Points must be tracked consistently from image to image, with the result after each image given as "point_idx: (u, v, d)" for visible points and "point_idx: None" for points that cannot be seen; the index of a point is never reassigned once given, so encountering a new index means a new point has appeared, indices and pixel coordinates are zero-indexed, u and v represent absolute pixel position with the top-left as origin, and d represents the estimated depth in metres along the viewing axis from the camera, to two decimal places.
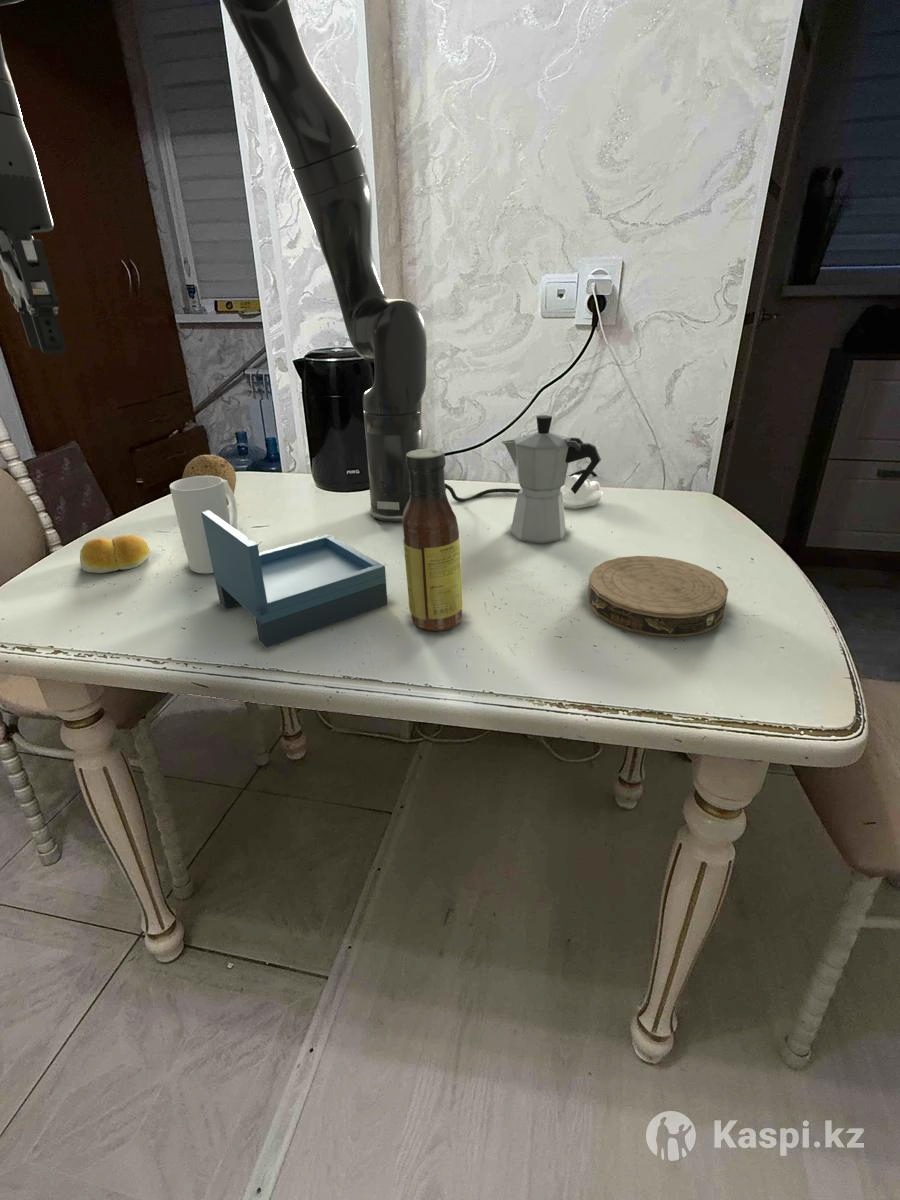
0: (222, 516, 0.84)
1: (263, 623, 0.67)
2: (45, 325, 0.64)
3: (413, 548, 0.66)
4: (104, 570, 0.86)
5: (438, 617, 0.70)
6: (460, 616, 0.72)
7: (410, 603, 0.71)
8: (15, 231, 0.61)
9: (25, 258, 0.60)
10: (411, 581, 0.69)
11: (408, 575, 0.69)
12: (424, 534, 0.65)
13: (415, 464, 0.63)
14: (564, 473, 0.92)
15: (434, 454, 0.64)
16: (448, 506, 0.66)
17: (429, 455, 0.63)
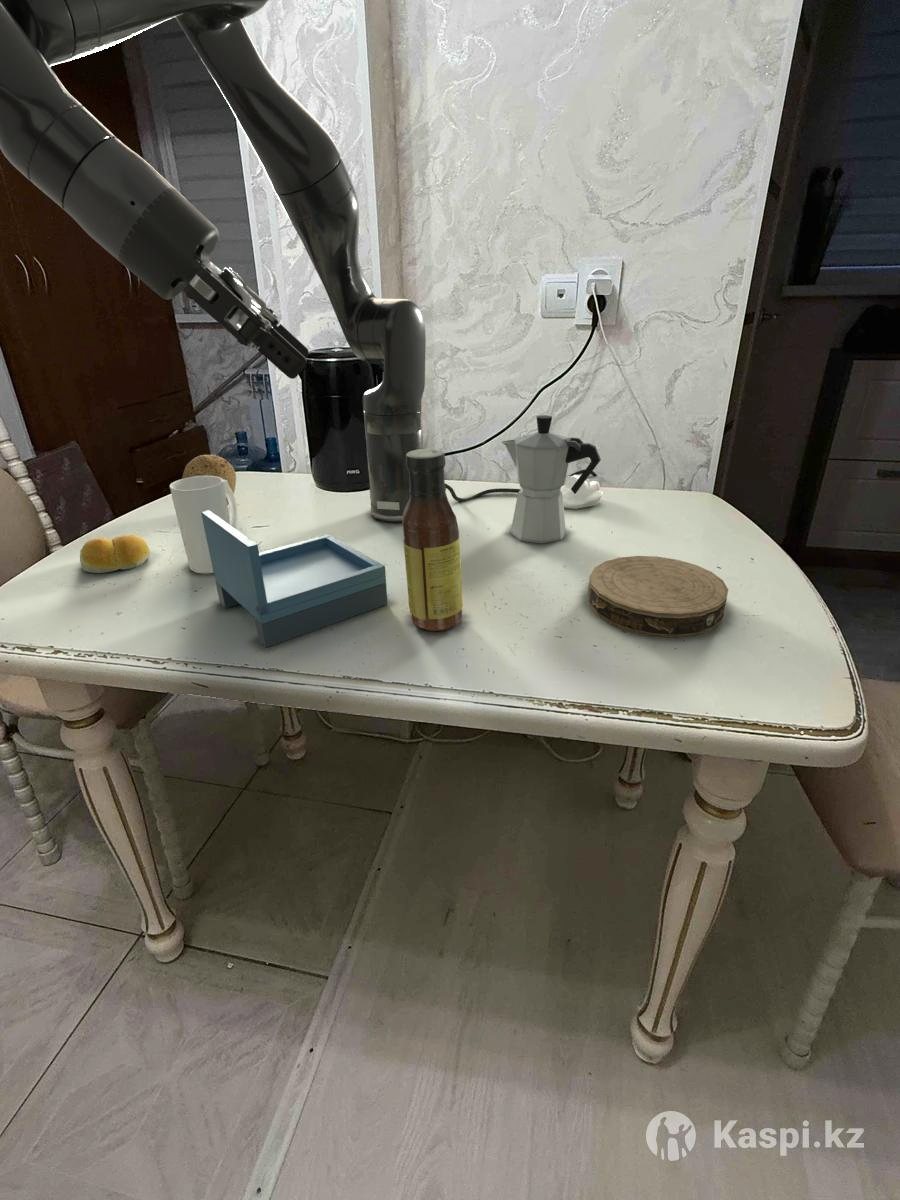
0: (222, 516, 0.84)
1: (263, 623, 0.67)
2: (271, 350, 0.53)
3: (413, 547, 0.66)
4: (104, 570, 0.86)
5: (438, 617, 0.70)
6: (460, 616, 0.72)
7: (410, 603, 0.71)
8: (187, 273, 0.50)
9: (205, 299, 0.49)
10: (411, 581, 0.69)
11: (408, 575, 0.69)
12: (424, 534, 0.65)
13: (415, 464, 0.63)
14: (564, 473, 0.92)
15: (434, 454, 0.64)
16: (448, 506, 0.66)
17: (429, 455, 0.63)
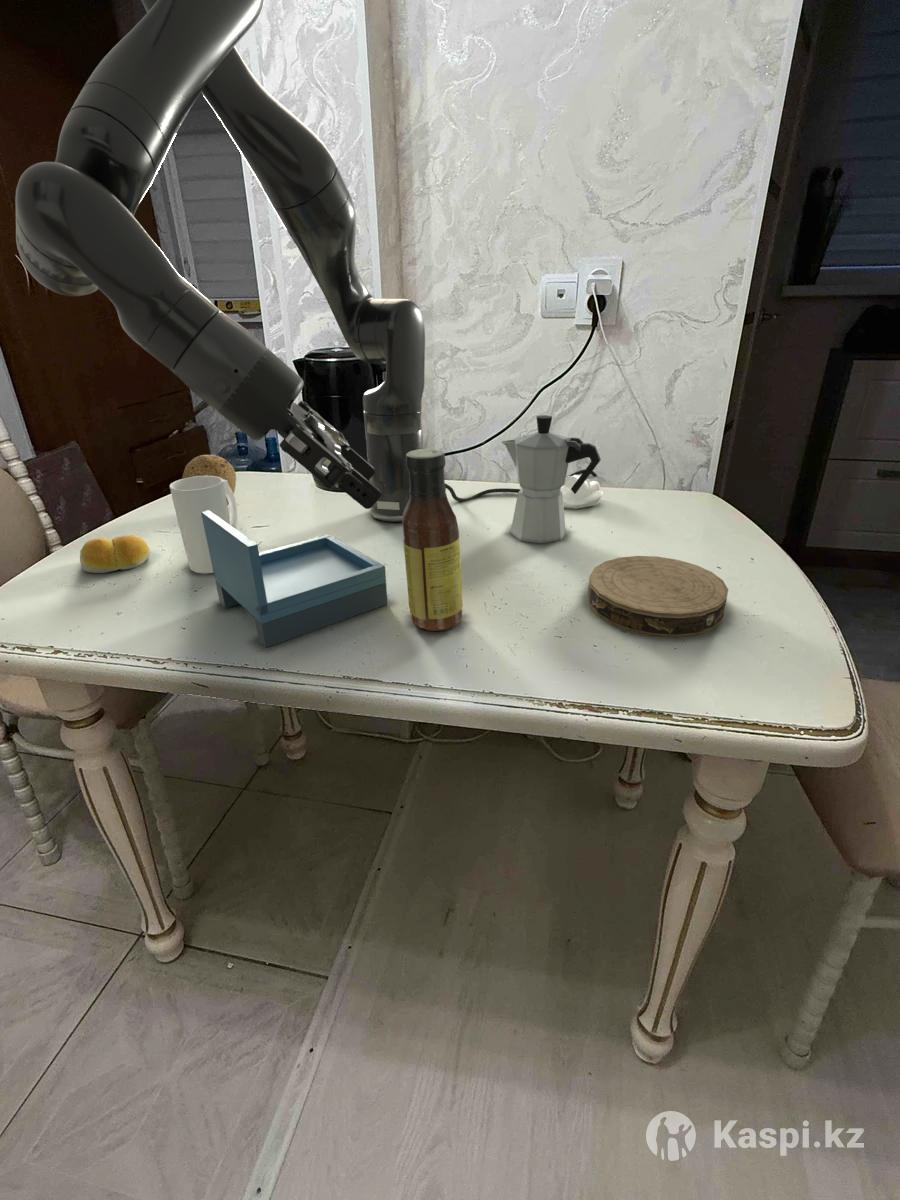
0: (222, 516, 0.84)
1: (263, 623, 0.67)
2: (351, 488, 0.59)
3: (413, 547, 0.66)
4: (104, 570, 0.86)
5: (438, 617, 0.70)
6: (460, 616, 0.72)
7: (410, 603, 0.71)
8: (279, 425, 0.57)
9: (298, 453, 0.55)
10: (411, 581, 0.69)
11: (408, 575, 0.69)
12: (424, 534, 0.65)
13: (415, 464, 0.63)
14: (564, 473, 0.92)
15: (434, 454, 0.64)
16: (448, 506, 0.66)
17: (429, 455, 0.63)
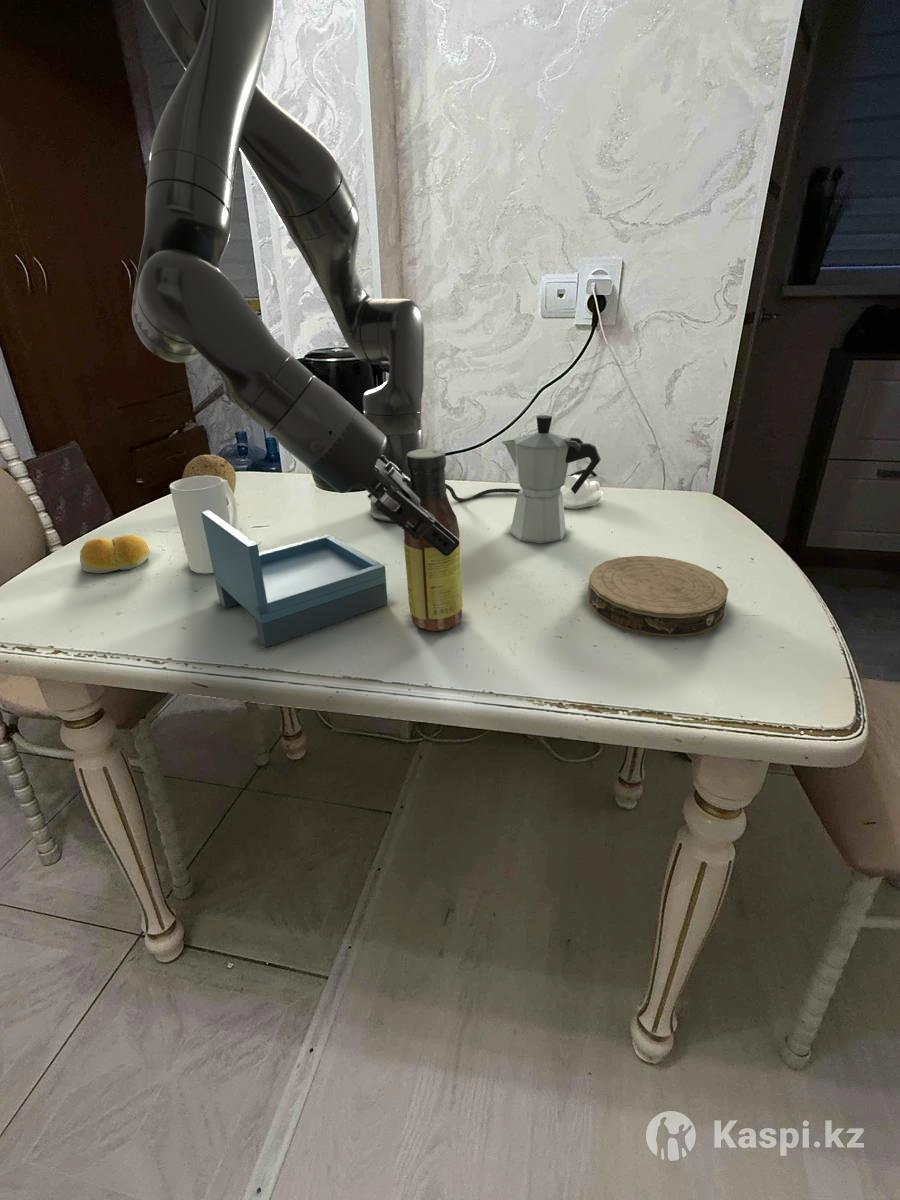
0: (222, 516, 0.84)
1: (263, 623, 0.67)
2: (434, 538, 0.64)
3: (414, 548, 0.66)
4: (104, 570, 0.86)
5: (438, 617, 0.70)
6: (460, 616, 0.72)
7: (410, 603, 0.71)
8: (367, 481, 0.61)
9: (392, 512, 0.59)
10: (411, 581, 0.69)
11: (408, 575, 0.69)
12: None
13: (416, 464, 0.63)
14: (564, 473, 0.92)
15: (435, 454, 0.64)
16: (448, 506, 0.66)
17: (430, 455, 0.63)
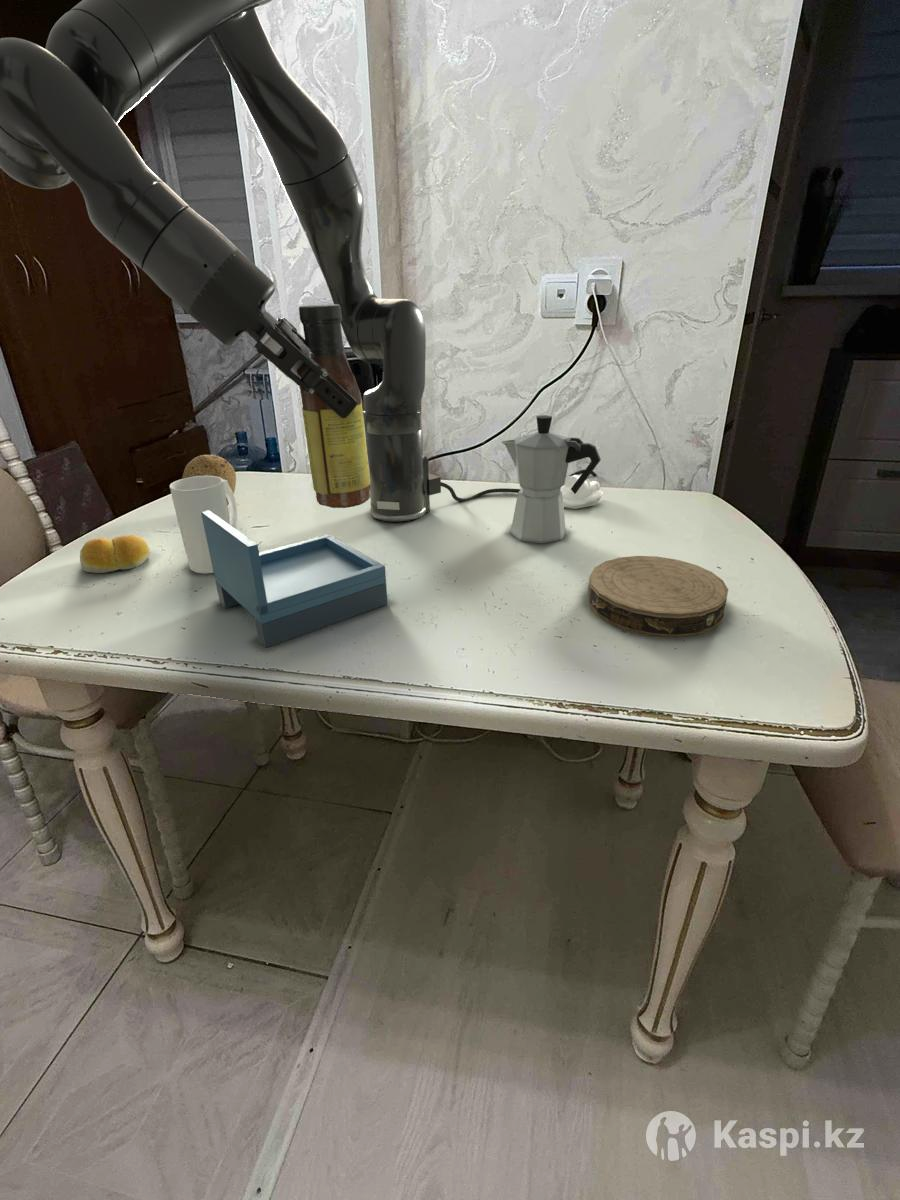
0: (222, 516, 0.84)
1: (263, 623, 0.67)
2: (327, 395, 0.60)
3: (310, 411, 0.63)
4: (104, 570, 0.86)
5: (340, 491, 0.66)
6: (367, 494, 0.68)
7: (312, 478, 0.67)
8: (250, 325, 0.57)
9: (274, 355, 0.56)
10: (311, 452, 0.65)
11: (308, 445, 0.65)
12: None
13: (307, 314, 0.59)
14: (564, 473, 0.92)
15: None
16: (346, 365, 0.62)
17: (322, 305, 0.59)
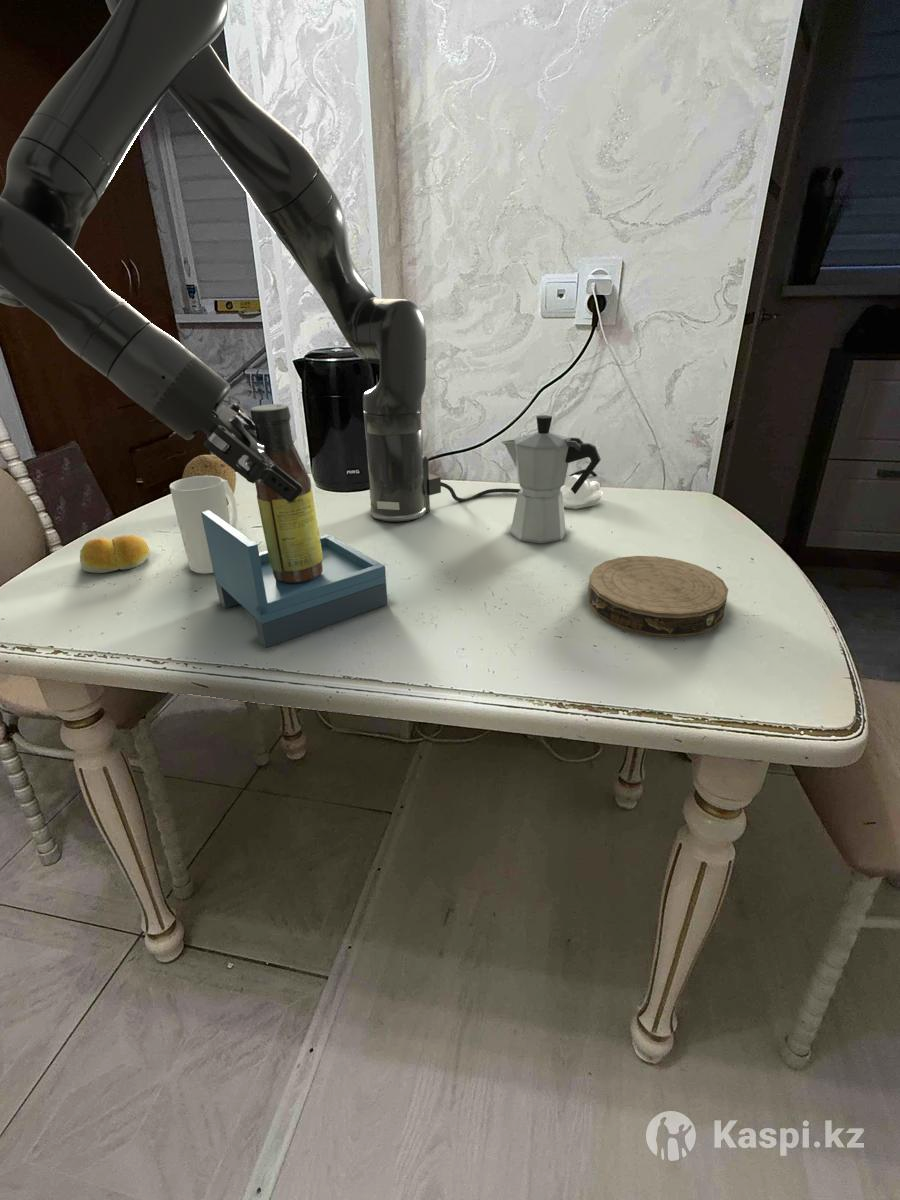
0: (222, 516, 0.84)
1: (263, 623, 0.67)
2: (274, 483, 0.65)
3: (263, 500, 0.69)
4: (104, 570, 0.86)
5: (293, 569, 0.72)
6: (319, 570, 0.74)
7: (269, 556, 0.73)
8: (206, 426, 0.63)
9: (220, 451, 0.61)
10: (266, 534, 0.71)
11: (263, 528, 0.72)
12: None
13: (257, 417, 0.66)
14: (564, 473, 0.92)
15: (276, 408, 0.66)
16: (295, 459, 0.68)
17: (271, 408, 0.66)
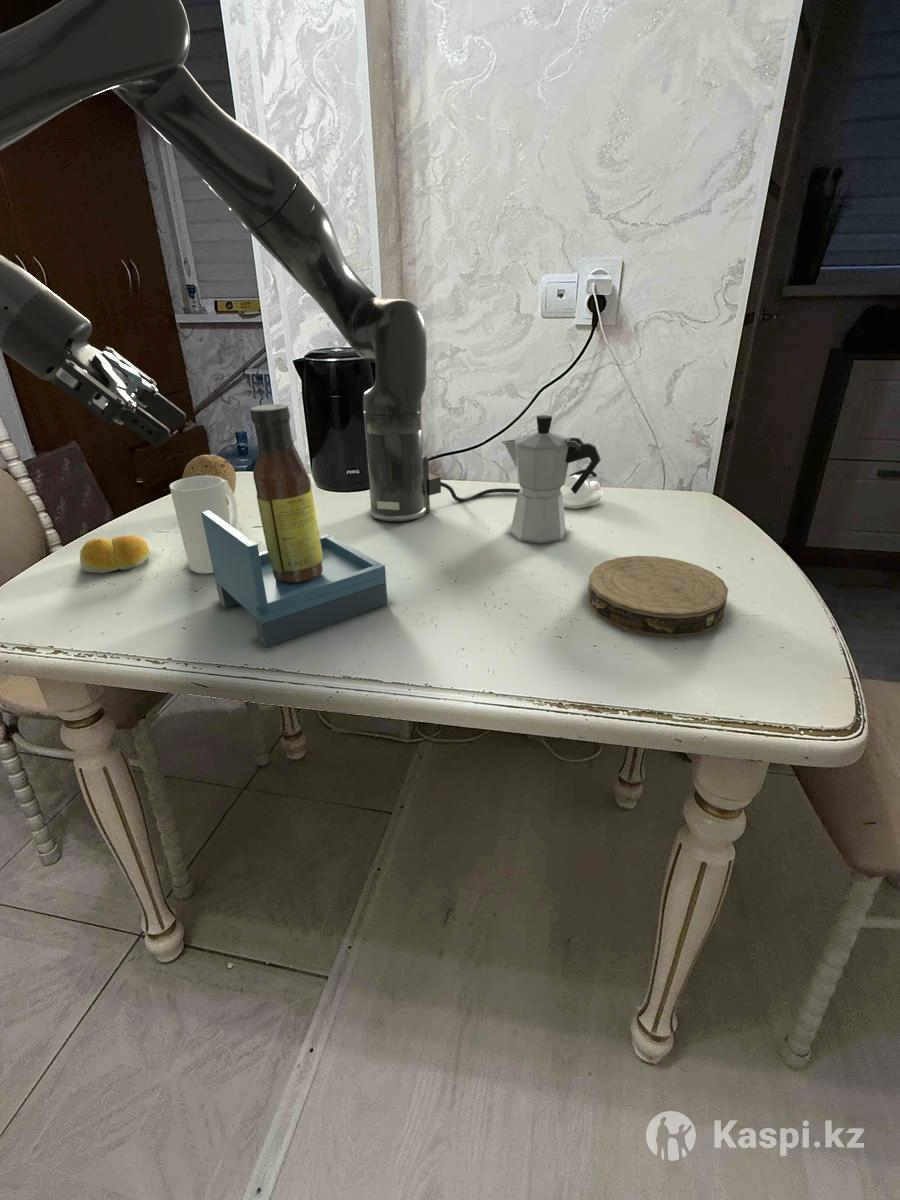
0: (222, 516, 0.84)
1: (263, 623, 0.67)
2: (135, 425, 0.62)
3: (262, 500, 0.69)
4: (104, 570, 0.86)
5: (293, 569, 0.72)
6: (319, 570, 0.74)
7: None
8: (58, 362, 0.59)
9: (70, 387, 0.58)
10: (265, 534, 0.71)
11: (263, 528, 0.72)
12: (270, 485, 0.68)
13: (256, 417, 0.66)
14: (564, 473, 0.92)
15: (276, 408, 0.66)
16: (294, 459, 0.68)
17: (270, 408, 0.66)
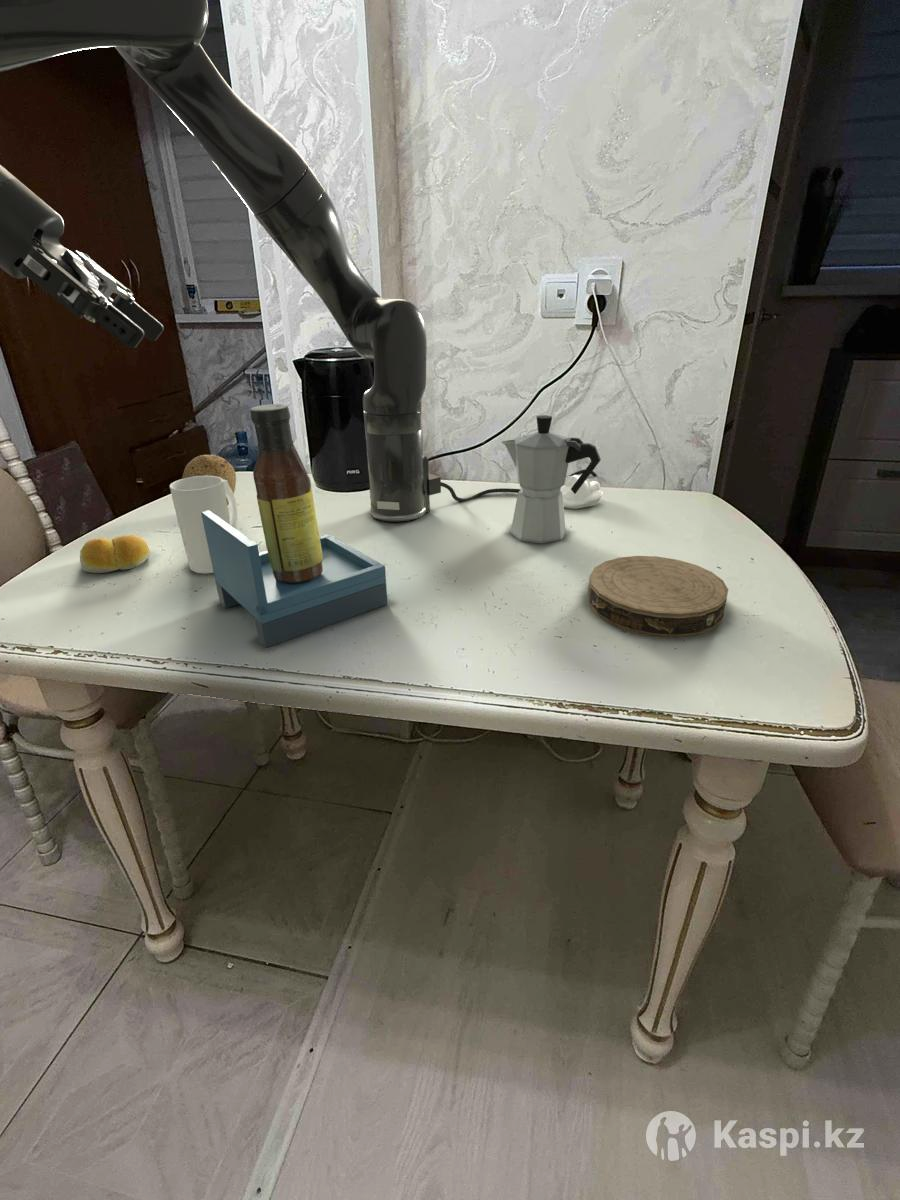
0: (222, 516, 0.84)
1: (263, 623, 0.67)
2: (108, 323, 0.60)
3: (262, 500, 0.69)
4: (104, 570, 0.86)
5: (293, 569, 0.72)
6: (319, 570, 0.74)
7: None
8: (26, 254, 0.57)
9: (38, 276, 0.56)
10: (265, 534, 0.71)
11: (263, 528, 0.72)
12: (270, 485, 0.68)
13: (256, 417, 0.66)
14: (564, 473, 0.92)
15: (276, 408, 0.66)
16: (294, 459, 0.68)
17: (270, 408, 0.66)
